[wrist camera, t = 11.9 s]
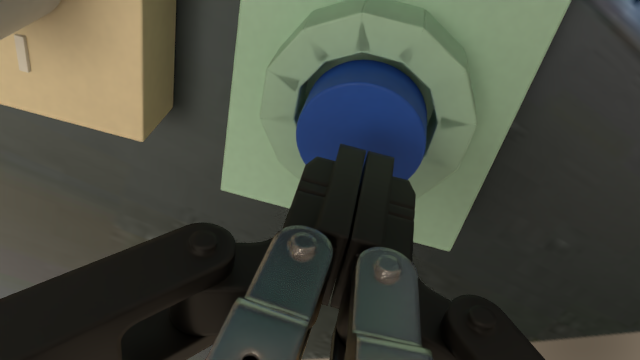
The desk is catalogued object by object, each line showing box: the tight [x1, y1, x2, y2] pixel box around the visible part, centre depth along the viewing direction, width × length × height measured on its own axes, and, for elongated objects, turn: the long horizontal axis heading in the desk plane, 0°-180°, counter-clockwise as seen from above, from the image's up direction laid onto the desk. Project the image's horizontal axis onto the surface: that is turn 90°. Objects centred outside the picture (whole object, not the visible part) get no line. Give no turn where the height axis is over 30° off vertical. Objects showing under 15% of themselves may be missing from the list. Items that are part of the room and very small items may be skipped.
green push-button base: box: [221, 0, 572, 251], centre depth 19 cm, size 12×10×4 cm
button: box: [296, 60, 427, 180], centre depth 17 cm, size 4×4×2 cm
